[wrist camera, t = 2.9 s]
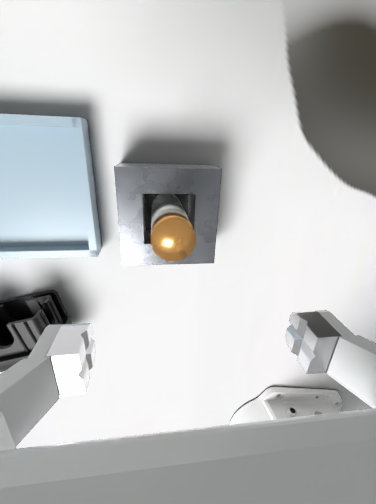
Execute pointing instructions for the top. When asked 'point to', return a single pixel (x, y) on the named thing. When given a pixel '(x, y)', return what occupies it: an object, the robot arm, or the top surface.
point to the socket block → (166, 182)
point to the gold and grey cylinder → (171, 229)
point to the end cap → (27, 324)
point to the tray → (47, 188)
